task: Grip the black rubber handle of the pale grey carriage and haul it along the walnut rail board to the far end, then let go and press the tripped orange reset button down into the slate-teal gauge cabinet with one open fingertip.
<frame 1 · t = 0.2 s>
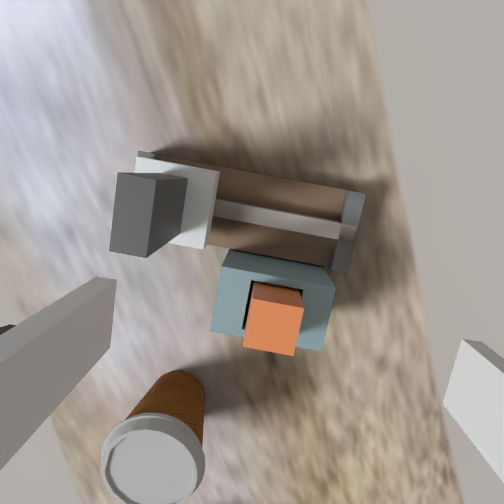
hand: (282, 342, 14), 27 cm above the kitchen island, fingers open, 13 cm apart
reset button: (272, 311, 33), point 9 cm above the kitchen island, slide at 0.0 cm
rail board: (246, 210, 41), on the kitchen island
disposable coffee cup: (178, 394, 46), on the kitchen island
gauge cabinet: (270, 281, 42), on the kitchen island
carriage: (159, 207, 30), point 11 cm above the kitchen island, slide at 0.0 cm
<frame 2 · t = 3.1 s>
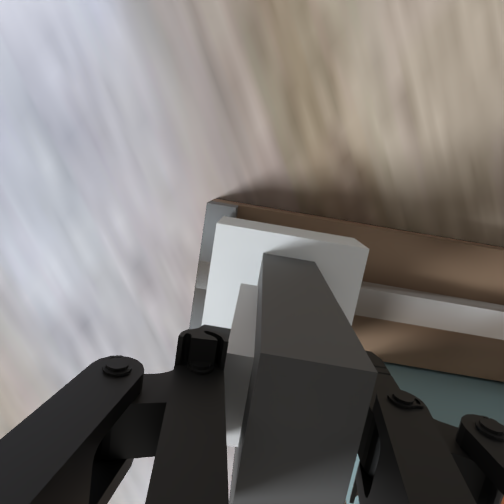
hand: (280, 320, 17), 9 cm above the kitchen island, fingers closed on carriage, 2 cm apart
rail board: (373, 288, 25), on the kitchen island
gauge cabinet: (407, 397, 26), on the kitchen island
carriage: (282, 340, 15), point 10 cm above the kitchen island, slide at 0.0 cm, touching gripper
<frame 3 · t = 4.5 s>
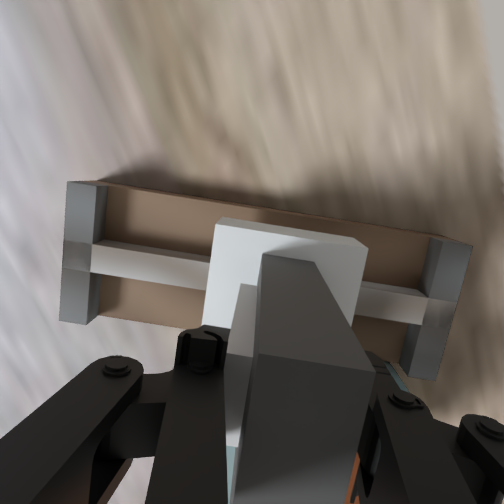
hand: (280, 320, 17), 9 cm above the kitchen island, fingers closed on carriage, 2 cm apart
reset button: (319, 491, 17), point 9 cm above the kitchen island, slide at 0.0 cm
rail board: (259, 269, 25), on the kitchen island
gauge cabinet: (300, 379, 26), on the kitchen island
carriage: (282, 340, 15), point 10 cm above the kitchen island, slide at 7.6 cm, touching gripper
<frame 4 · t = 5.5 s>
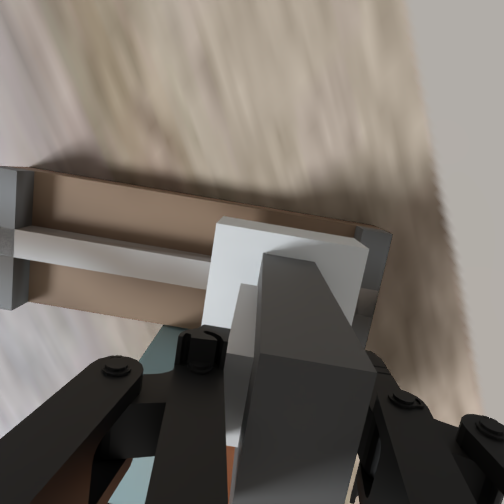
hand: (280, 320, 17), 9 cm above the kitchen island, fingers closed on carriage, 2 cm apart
reset button: (220, 474, 17), point 9 cm above the kitchen island, slide at 0.0 cm
rail board: (192, 257, 25), on the kitchen island
gauge cabinet: (236, 368, 26), on the kitchen island
carriage: (282, 340, 15), point 10 cm above the kitchen island, slide at 11.9 cm, touching gripper
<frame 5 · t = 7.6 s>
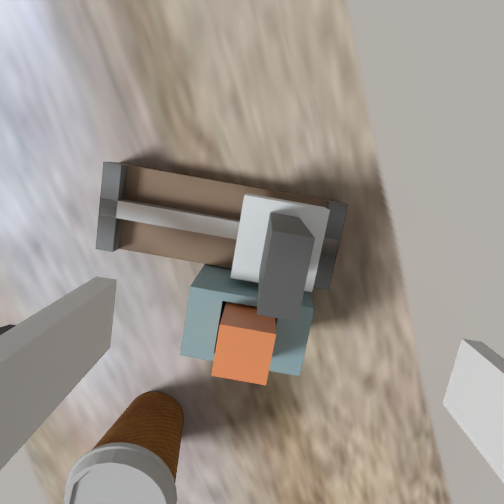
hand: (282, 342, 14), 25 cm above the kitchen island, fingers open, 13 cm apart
reset button: (245, 334, 31), point 9 cm above the kitchen island, slide at 0.0 cm
rail board: (223, 222, 38), on the kitchen island
disposable coffee cup: (156, 415, 43), on the kitchen island
gauge cabinet: (250, 297, 40), on the kitchen island
carriage: (280, 253, 28), point 10 cm above the kitchen island, slide at 11.9 cm
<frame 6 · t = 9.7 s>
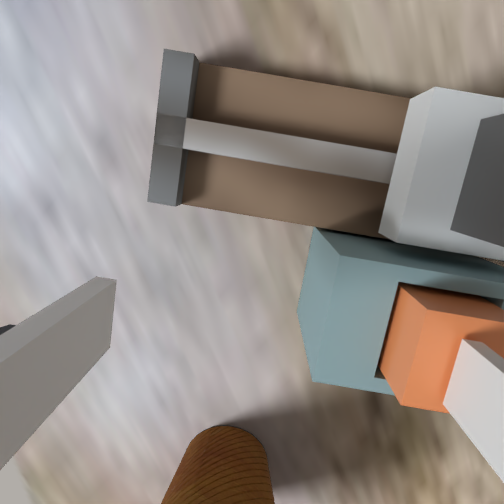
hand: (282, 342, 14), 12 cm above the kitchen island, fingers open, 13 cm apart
reset button: (427, 330, 18), point 8 cm above the kitchen island, slide at 1.5 cm, touching gripper
rail board: (342, 163, 24), on the kitchen island
disposable coffee cup: (226, 460, 29), on the kitchen island
gauge cabinet: (378, 282, 26), on the kitchen island
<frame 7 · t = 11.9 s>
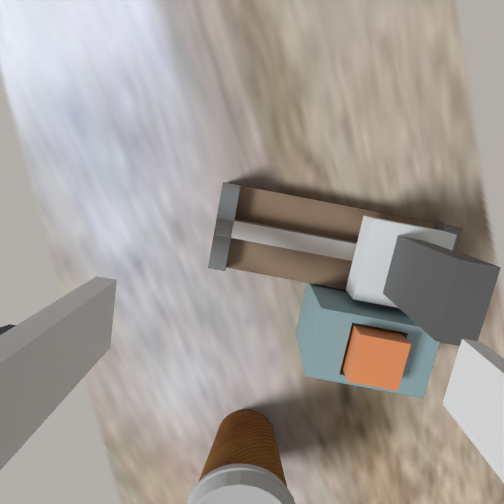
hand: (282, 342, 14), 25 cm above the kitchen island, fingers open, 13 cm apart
reset button: (366, 344, 33), point 7 cm above the kitchen island, slide at 2.4 cm
rail board: (326, 242, 39), on the kitchen island
disposable coffee cup: (245, 434, 43), on the kitchen island
gauge cabinet: (348, 316, 40), on the kitchen island
carriage: (421, 277, 29), point 10 cm above the kitchen island, slide at 11.9 cm
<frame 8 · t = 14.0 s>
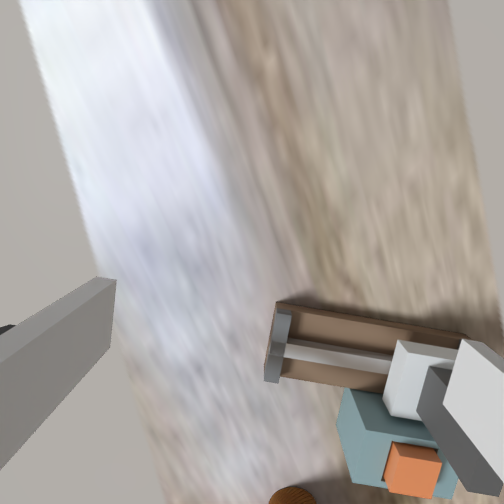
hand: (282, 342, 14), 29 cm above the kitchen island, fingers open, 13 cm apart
reset button: (402, 451, 39), point 7 cm above the kitchen island, slide at 2.4 cm
rail board: (362, 349, 45), on the kitchen island
gauge cabinet: (381, 409, 46), on the kitchen island
carriage: (450, 412, 35), point 10 cm above the kitchen island, slide at 11.9 cm
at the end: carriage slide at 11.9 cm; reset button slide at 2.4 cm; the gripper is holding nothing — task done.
